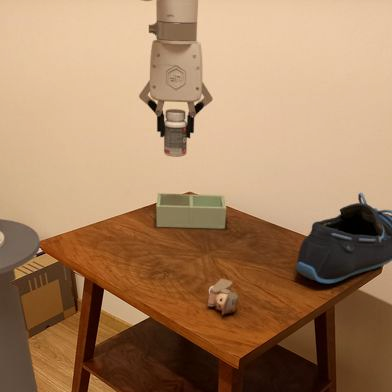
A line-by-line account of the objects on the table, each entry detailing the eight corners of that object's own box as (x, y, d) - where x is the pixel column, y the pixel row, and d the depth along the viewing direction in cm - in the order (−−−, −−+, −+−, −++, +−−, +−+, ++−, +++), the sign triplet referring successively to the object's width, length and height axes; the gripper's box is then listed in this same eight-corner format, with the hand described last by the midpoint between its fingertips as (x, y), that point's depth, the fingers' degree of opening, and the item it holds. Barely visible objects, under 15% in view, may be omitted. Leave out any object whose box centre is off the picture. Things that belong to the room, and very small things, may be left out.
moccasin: (415, 250, 113) (434, 197, 106) (353, 302, 89) (373, 239, 82) (356, 230, 119) (371, 179, 112) (283, 275, 95) (297, 213, 89)
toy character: (198, 289, 84) (232, 301, 82) (216, 274, 90) (247, 284, 89) (194, 311, 86) (227, 323, 84) (212, 294, 92) (243, 305, 91)
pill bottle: (187, 157, 107) (188, 114, 102) (165, 157, 106) (165, 113, 101) (184, 150, 110) (186, 108, 105) (163, 150, 110) (163, 108, 105)
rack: (156, 227, 115) (156, 206, 112) (157, 213, 121) (157, 193, 118) (224, 228, 115) (226, 208, 113) (222, 215, 122) (224, 195, 119)
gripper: (129, 33, 92) (132, 139, 103) (223, 37, 92) (217, 142, 103) (132, 29, 98) (135, 130, 109) (221, 33, 98) (215, 133, 109)
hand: (175, 135), depth 106 cm, fingers closed on pill bottle, 4 cm apart
